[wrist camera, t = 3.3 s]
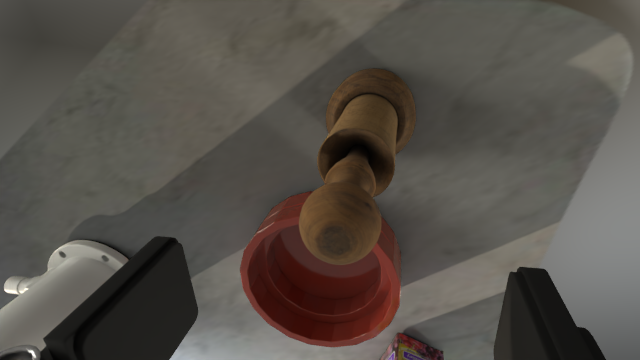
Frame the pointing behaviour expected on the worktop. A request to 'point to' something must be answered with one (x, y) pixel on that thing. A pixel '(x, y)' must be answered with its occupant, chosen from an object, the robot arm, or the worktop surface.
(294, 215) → the bowl
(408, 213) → the worktop surface
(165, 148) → the worktop surface
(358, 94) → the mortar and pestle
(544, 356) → the robot arm
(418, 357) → the snack box
